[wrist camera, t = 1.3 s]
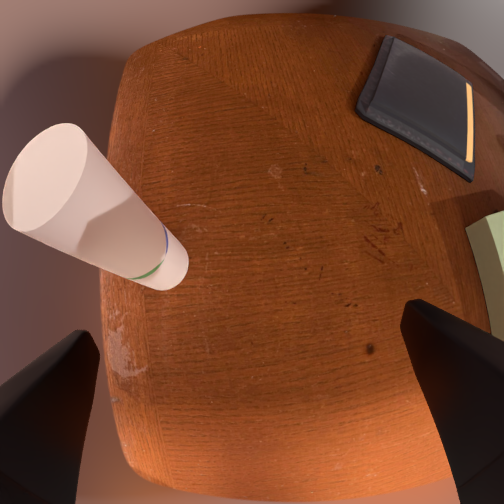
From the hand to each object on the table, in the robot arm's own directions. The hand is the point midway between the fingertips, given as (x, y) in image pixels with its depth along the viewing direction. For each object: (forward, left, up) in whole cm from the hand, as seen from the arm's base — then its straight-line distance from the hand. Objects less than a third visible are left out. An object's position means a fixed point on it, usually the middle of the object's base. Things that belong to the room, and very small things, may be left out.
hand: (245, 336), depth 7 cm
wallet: (+19, -26, -14) cm, 36 cm away
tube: (+6, +6, -14) cm, 17 cm away
